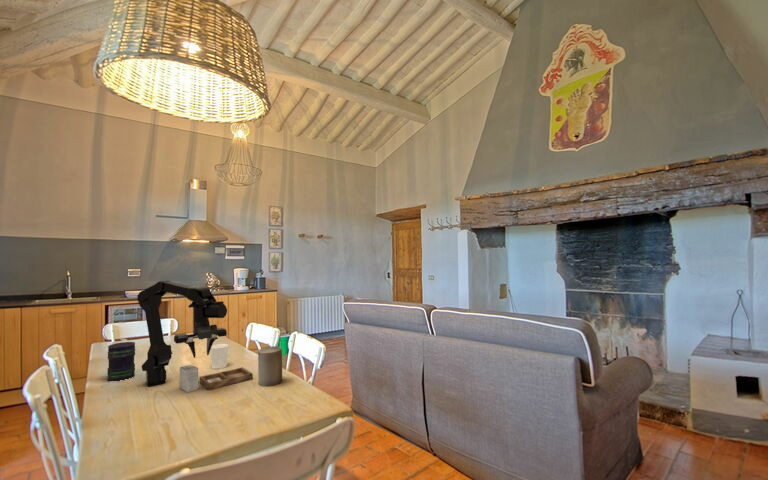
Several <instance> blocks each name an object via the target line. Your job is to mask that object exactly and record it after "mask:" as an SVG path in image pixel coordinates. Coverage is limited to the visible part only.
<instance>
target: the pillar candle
mask: <svg viewBox="0 0 768 480" xmlns="http://www.w3.org/2000/svg"><path fill="white" fill-rule="evenodd" d="M257 355H258V357H257V358H258V362H257V364H258V365H257V366H258V370H257V371H258V372H257V374H258V376H257V377H258V385H260V386H262V387H270V386H271V387H272V386H276V385H278V384H281V383H282V382H283V348H282V347H281V346H272V345H271V346H266V347H261V348H259V349H258V350H257Z"/></svg>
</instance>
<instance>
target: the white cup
mask: <svg viewBox="0 0 768 480" xmlns="http://www.w3.org/2000/svg"><path fill="white" fill-rule="evenodd" d="M228 358H229V344H228V343H218V344H212V347H211V349H210V362H211V369H213V370H220V369H224V368H226V367H228Z"/></svg>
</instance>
